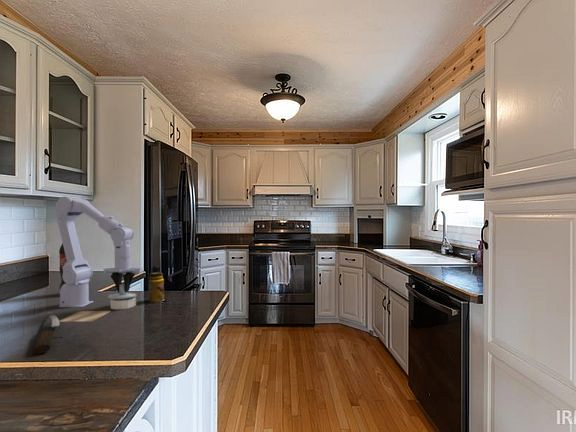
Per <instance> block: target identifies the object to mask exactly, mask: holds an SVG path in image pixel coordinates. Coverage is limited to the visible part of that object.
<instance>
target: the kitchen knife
mask: <svg viewBox="0 0 576 432" xmlns="http://www.w3.org/2000/svg"><path fill="white" fill-rule="evenodd" d="M59 321H60V320H59V318H58V316H56V315H55V314H51V315H49V316H47V318H46V320H45V322H44V323H43V326H42V327H41V328H40V329H39V330H38V333H37V338H36V341H35V344H34V347H33V348H34V349H33V351H34V354H35V355H36V354H39V355H40V354H41V355H42V354H46V353H47V352H48V351H49V350H51V346H52V345H51V344H52V338H53V333H54V332H53V331H54V329H56V328H58V327H60V322H59Z"/></svg>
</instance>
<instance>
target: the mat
mask: <svg viewBox="0 0 576 432" xmlns="http://www.w3.org/2000/svg"><path fill="white" fill-rule="evenodd" d="M110 312H112V311H111V310H91V311H90V310H83V311H82V310H79V311H77V312H75V313H73V314H70V315H69V316H67V317H65V318H62V319H60V320H59V323H60V322H61V323H69V322H71V323H72V322H73V323H74V322H76V323H77V322H83V323H84V322H90V323H91V322H94V321H96V320H98V319H99V318H101V317H103V316H105V315H107V314H108V313H110Z"/></svg>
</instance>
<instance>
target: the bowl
mask: <svg viewBox="0 0 576 432" xmlns="http://www.w3.org/2000/svg"><path fill="white" fill-rule="evenodd" d="M109 304H110V309H112V310H124V309H125V310H126V309H130V308H133V307H136V306H137V296H136V297H132V298H124V299H110V303H109Z"/></svg>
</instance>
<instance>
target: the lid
mask: <svg viewBox="0 0 576 432" xmlns="http://www.w3.org/2000/svg"><path fill="white" fill-rule="evenodd" d="M107 296H108V297H107V298H108V299H124V298H132V297H136V298H137V293H136V292H125V284H124V283H122V284H120V285H119V292H118V293H114V294H113V293H111V294H108V295H107Z"/></svg>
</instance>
